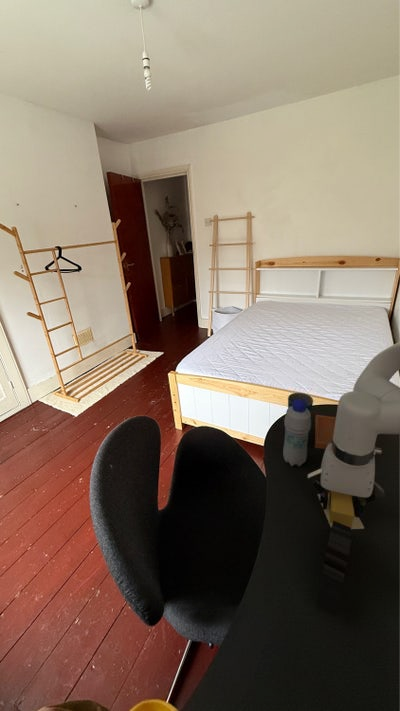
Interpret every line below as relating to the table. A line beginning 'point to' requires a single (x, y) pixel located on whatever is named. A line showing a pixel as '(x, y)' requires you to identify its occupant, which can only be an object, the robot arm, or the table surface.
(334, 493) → the yellow block
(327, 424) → the brown wooden tray
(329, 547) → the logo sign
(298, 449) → the bottle
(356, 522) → the cloth
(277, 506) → the table surface
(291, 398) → the cup
